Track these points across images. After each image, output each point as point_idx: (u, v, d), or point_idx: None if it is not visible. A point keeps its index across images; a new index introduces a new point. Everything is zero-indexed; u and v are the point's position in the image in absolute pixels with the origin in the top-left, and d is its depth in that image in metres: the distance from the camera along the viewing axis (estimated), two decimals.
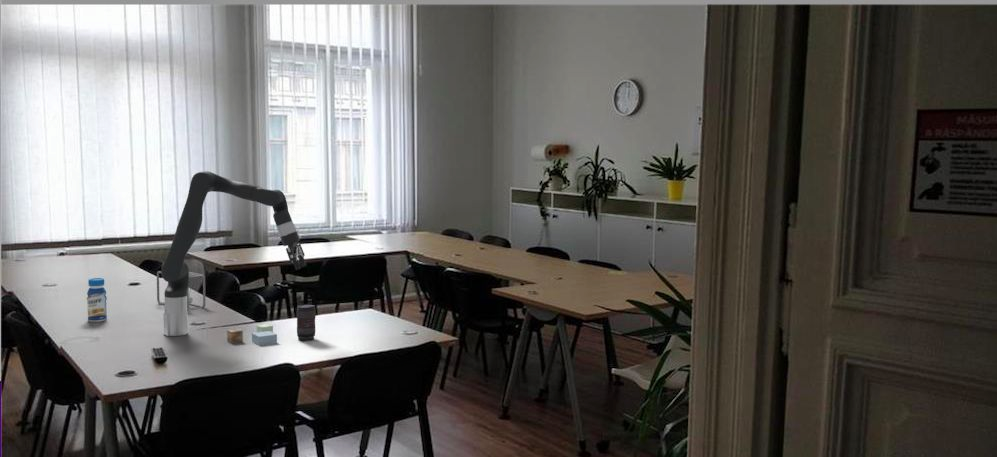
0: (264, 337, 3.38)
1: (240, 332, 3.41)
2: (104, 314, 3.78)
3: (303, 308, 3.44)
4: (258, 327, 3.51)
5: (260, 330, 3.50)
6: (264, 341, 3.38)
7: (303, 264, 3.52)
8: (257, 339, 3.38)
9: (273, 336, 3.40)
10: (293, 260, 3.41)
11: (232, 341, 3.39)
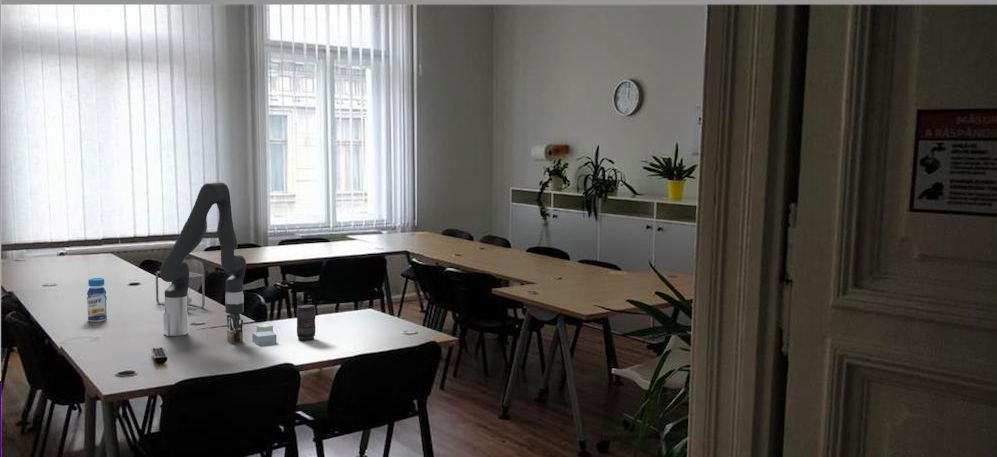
0: (263, 337, 3.38)
1: None
2: (104, 314, 3.78)
3: (303, 308, 3.44)
4: (258, 327, 3.51)
5: (260, 330, 3.50)
6: (263, 341, 3.38)
7: None
8: (256, 339, 3.38)
9: (272, 336, 3.40)
10: (239, 332, 3.38)
11: (232, 341, 3.39)
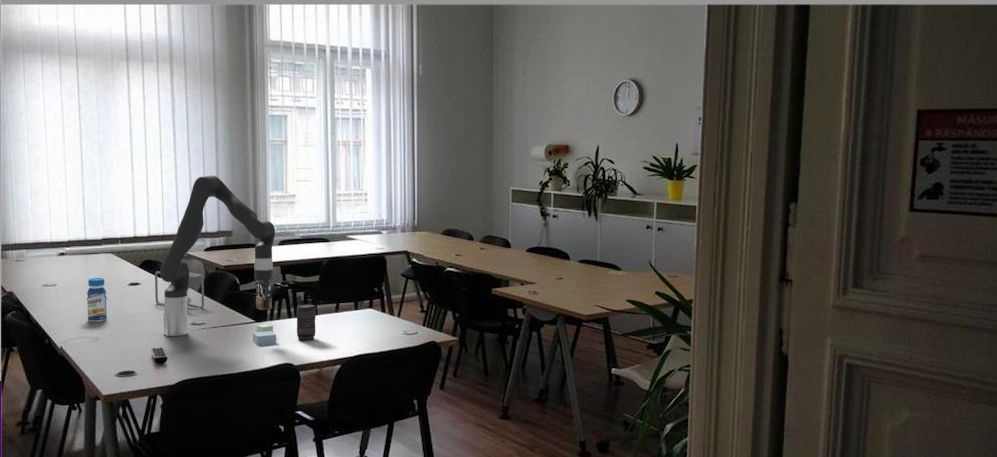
0: (263, 337, 3.38)
1: None
2: (104, 314, 3.78)
3: (303, 308, 3.44)
4: (258, 327, 3.51)
5: (260, 330, 3.50)
6: (263, 341, 3.38)
7: None
8: (256, 339, 3.38)
9: (272, 336, 3.40)
10: (268, 299, 3.37)
11: (261, 307, 3.38)
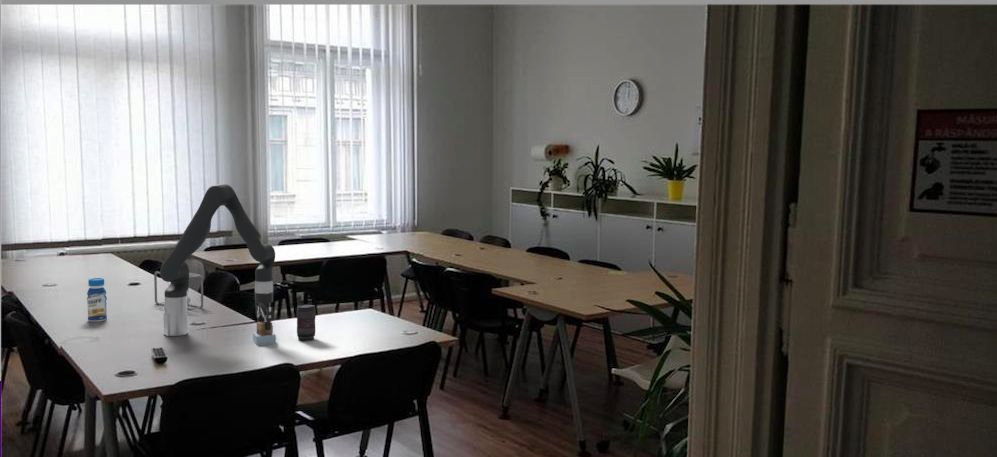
0: (262, 337, 3.38)
1: None
2: (104, 314, 3.78)
3: (303, 308, 3.44)
4: None
5: None
6: (262, 341, 3.38)
7: None
8: (255, 339, 3.38)
9: (272, 337, 3.40)
10: (269, 320, 3.36)
11: (262, 333, 3.39)
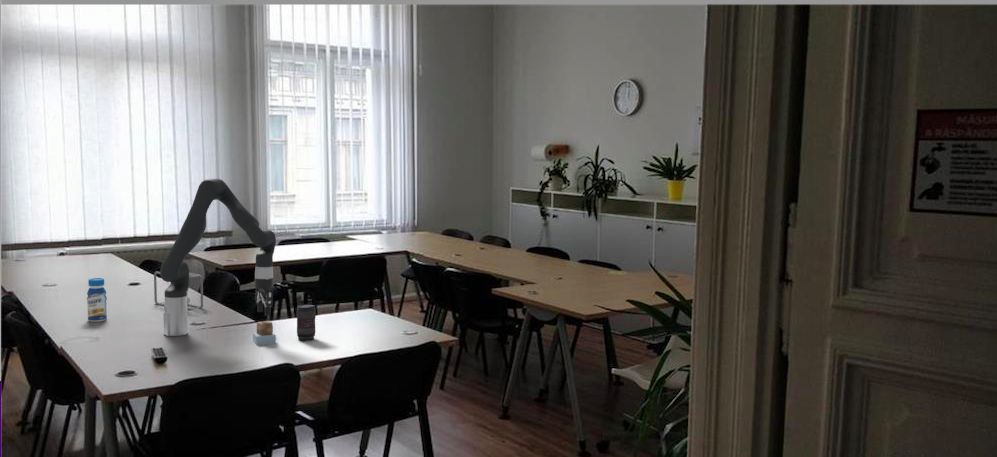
0: (262, 337, 3.38)
1: (270, 324, 3.40)
2: (104, 314, 3.78)
3: (303, 308, 3.44)
4: None
5: None
6: (262, 341, 3.38)
7: (260, 309, 3.44)
8: (255, 339, 3.38)
9: (272, 336, 3.40)
10: (269, 306, 3.36)
11: (262, 333, 3.39)
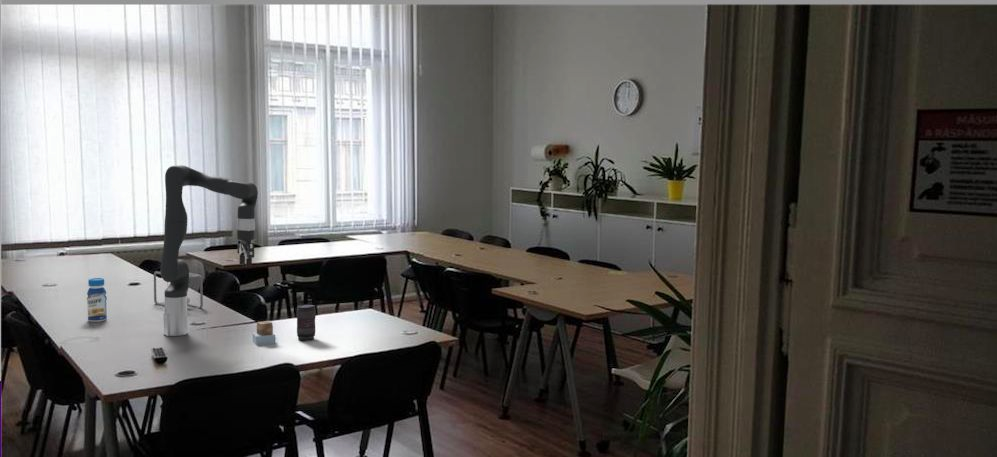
0: (262, 337, 3.38)
1: (270, 324, 3.40)
2: (104, 314, 3.78)
3: (303, 308, 3.44)
4: None
5: None
6: (262, 341, 3.38)
7: (242, 262, 3.48)
8: (255, 339, 3.38)
9: (271, 336, 3.40)
10: (251, 257, 3.40)
11: (262, 333, 3.39)
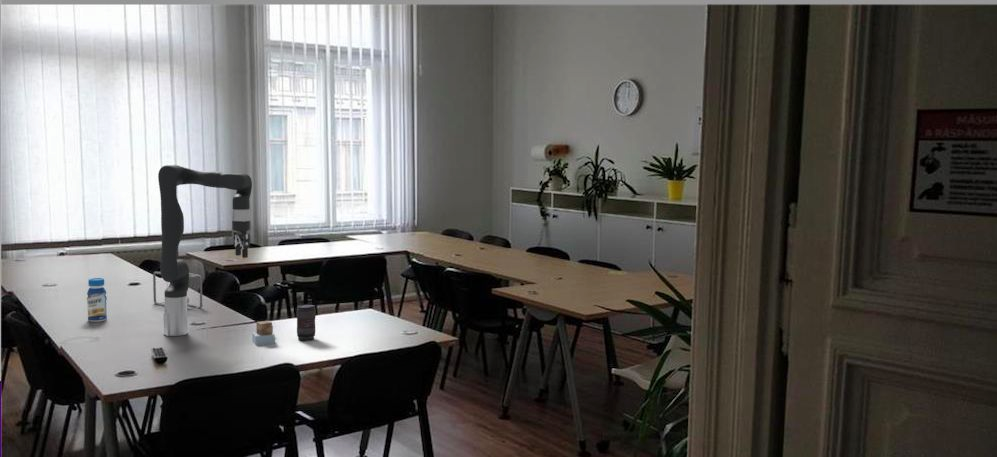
0: (261, 337, 3.38)
1: (269, 324, 3.40)
2: (104, 314, 3.78)
3: (303, 308, 3.44)
4: None
5: None
6: (261, 341, 3.38)
7: (238, 253, 3.49)
8: (254, 339, 3.38)
9: (271, 336, 3.40)
10: (246, 248, 3.41)
11: (262, 333, 3.39)
